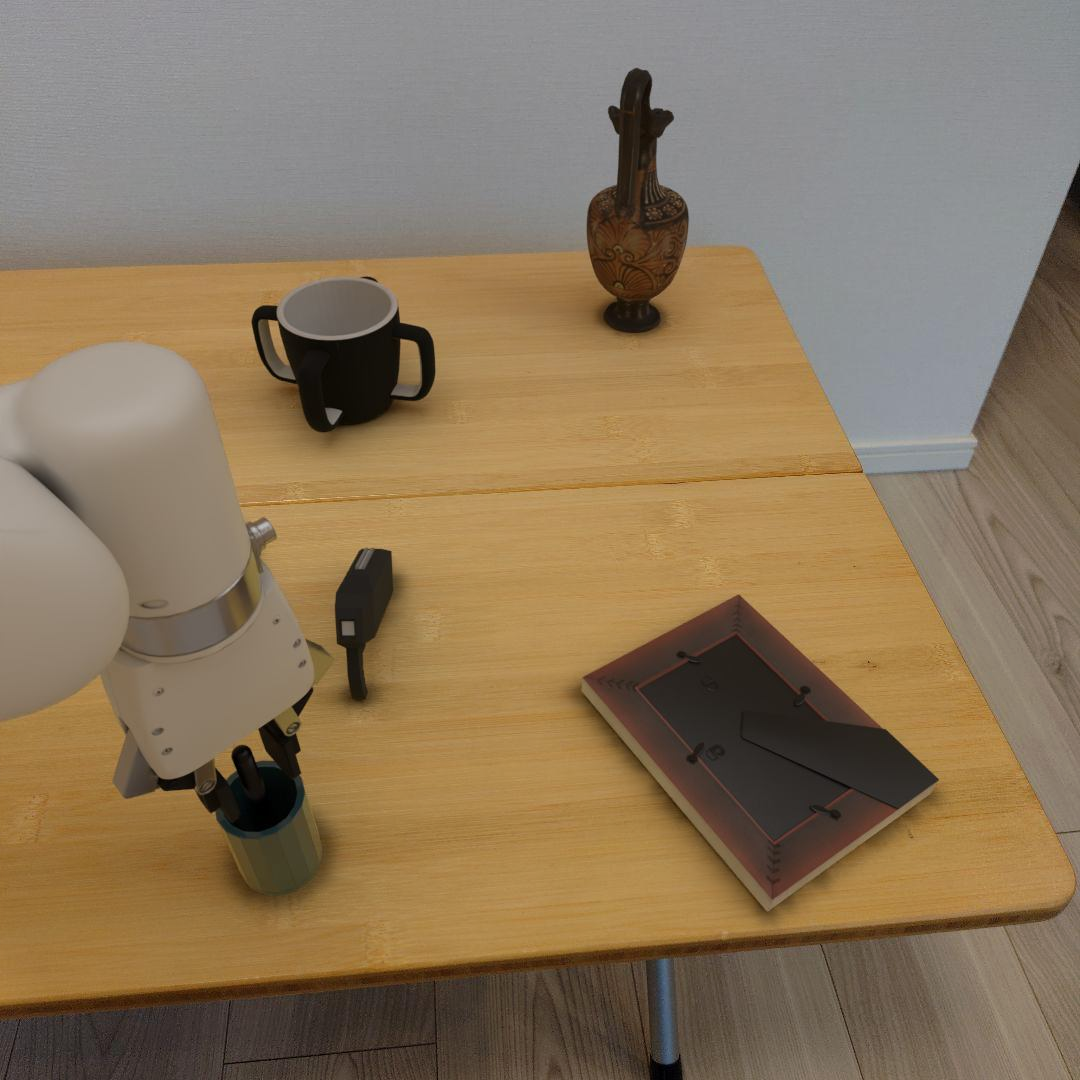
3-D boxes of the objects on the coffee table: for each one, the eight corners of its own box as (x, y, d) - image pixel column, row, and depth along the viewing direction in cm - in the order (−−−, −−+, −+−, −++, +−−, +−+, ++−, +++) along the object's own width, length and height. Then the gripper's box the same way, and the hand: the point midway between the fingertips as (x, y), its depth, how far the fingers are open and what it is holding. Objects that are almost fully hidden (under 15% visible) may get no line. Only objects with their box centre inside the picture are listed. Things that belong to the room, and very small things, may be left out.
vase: (689, 306, 119) (725, 50, 98) (654, 356, 111) (685, 89, 90) (603, 284, 123) (620, 33, 102) (563, 331, 115) (573, 69, 94)
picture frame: (929, 796, 70) (734, 611, 83) (940, 778, 69) (739, 592, 81) (765, 915, 64) (581, 694, 77) (772, 898, 62) (582, 675, 75)
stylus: (277, 865, 65) (236, 761, 56) (268, 853, 66) (225, 749, 57) (292, 854, 66) (253, 749, 56) (282, 842, 66) (242, 737, 57)
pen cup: (269, 913, 63) (245, 856, 58) (225, 856, 66) (198, 796, 61) (338, 858, 66) (321, 799, 61) (293, 806, 69) (273, 745, 63)
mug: (448, 424, 101) (441, 327, 93) (301, 465, 96) (280, 366, 88) (395, 347, 112) (385, 253, 103) (260, 380, 107) (238, 284, 98)
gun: (398, 634, 88) (394, 530, 85) (370, 717, 72) (364, 594, 69) (367, 634, 88) (362, 530, 85) (333, 716, 72) (325, 594, 69)
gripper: (282, 473, 53) (329, 675, 65) (-22, 632, 44) (100, 827, 57) (363, 543, 49) (396, 742, 62) (47, 730, 40) (162, 916, 53)
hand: (253, 781), depth 59 cm, fingers open, 3 cm apart
